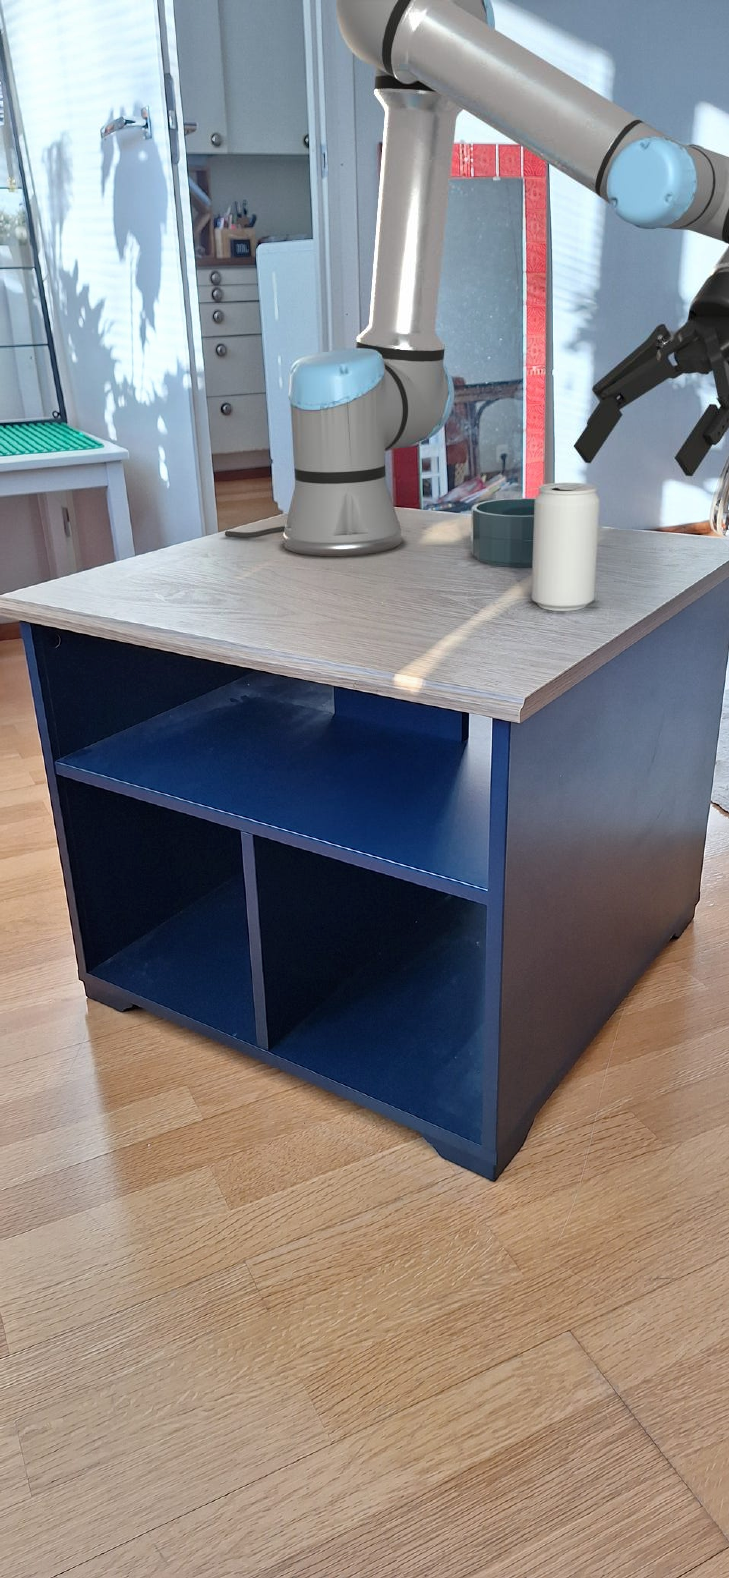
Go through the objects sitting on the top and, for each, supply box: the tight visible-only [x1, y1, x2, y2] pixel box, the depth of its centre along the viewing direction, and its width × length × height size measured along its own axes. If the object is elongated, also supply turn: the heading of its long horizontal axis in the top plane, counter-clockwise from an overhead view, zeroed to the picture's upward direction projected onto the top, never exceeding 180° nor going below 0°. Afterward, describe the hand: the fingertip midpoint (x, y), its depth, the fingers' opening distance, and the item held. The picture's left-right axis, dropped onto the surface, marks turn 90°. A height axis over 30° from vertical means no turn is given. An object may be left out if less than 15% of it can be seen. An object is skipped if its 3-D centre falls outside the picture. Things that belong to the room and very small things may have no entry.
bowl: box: [470, 497, 536, 568], centre depth 134 cm, size 12×12×6 cm
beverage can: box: [530, 482, 601, 612], centre depth 112 cm, size 6×6×12 cm
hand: (630, 461), depth 114 cm, fingers open, 13 cm apart
